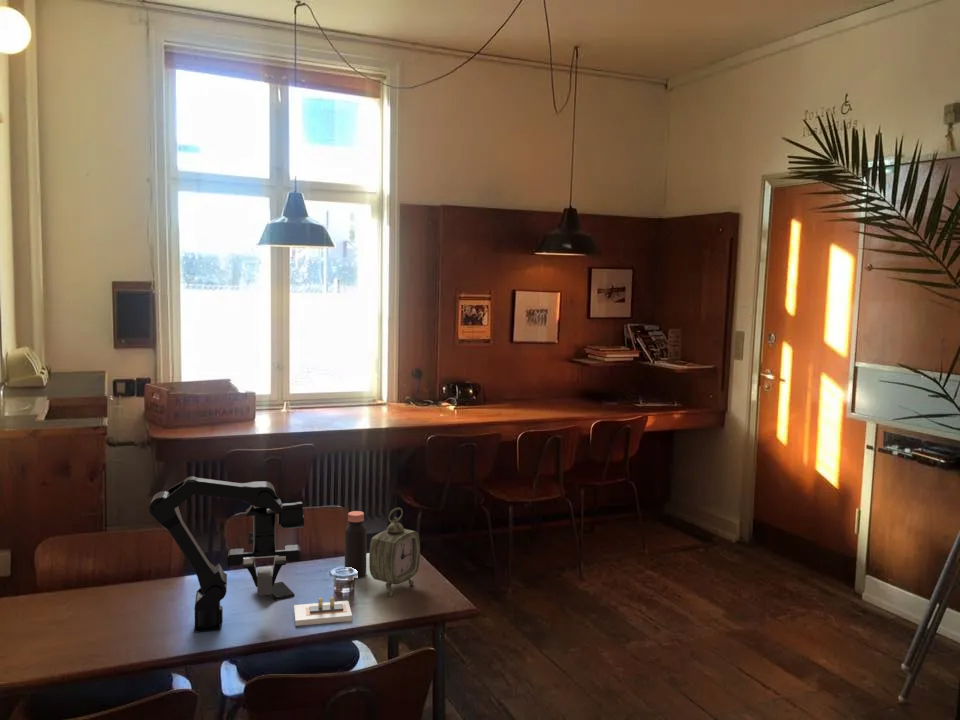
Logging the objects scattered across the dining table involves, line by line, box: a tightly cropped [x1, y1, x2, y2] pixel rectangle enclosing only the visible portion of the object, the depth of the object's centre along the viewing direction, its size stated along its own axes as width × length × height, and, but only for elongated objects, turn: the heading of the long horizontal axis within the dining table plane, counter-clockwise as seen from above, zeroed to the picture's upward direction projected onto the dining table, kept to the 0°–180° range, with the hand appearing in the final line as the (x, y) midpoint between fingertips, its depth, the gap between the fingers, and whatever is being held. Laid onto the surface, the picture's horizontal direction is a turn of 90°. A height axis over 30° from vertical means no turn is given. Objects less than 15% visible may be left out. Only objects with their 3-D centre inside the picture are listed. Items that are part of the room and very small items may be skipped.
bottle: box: [344, 510, 368, 579], centre depth 242 cm, size 7×7×20 cm
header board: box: [293, 596, 353, 627], centre depth 213 cm, size 15×10×5 cm, turn 105°
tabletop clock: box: [368, 507, 421, 598], centre depth 232 cm, size 14×9×25 cm, turn 150°
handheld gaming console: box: [269, 581, 295, 601], centre depth 227 cm, size 12×7×10 cm
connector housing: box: [256, 566, 273, 596], centre depth 208 cm, size 7×4×5 cm, turn 15°
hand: (264, 585), depth 208 cm, fingers closed on connector housing, 4 cm apart
